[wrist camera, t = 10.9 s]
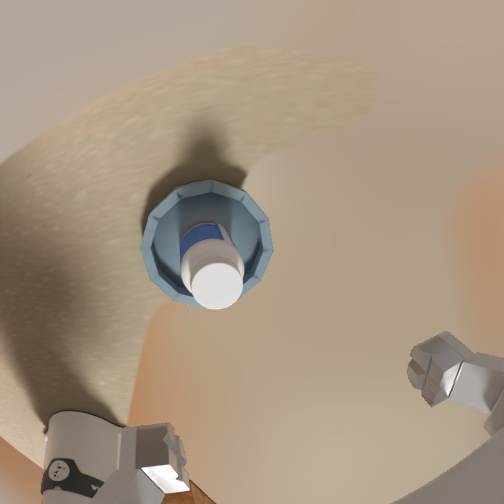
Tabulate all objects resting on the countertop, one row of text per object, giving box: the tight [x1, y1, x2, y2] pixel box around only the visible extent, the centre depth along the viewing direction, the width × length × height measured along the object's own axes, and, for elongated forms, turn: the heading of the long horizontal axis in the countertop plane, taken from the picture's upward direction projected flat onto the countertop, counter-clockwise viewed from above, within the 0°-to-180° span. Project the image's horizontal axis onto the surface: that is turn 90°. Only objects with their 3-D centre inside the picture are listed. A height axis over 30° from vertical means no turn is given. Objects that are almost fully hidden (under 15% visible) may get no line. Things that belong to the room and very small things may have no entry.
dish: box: [141, 179, 273, 308], centre depth 32 cm, size 13×13×2 cm
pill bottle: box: [179, 220, 244, 309], centre depth 28 cm, size 6×5×10 cm
